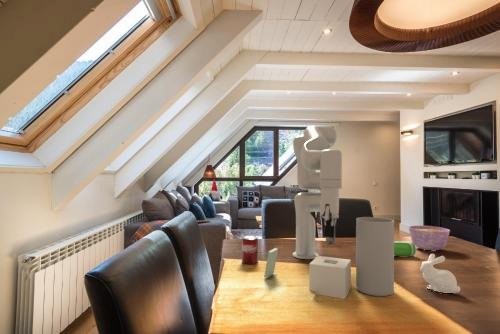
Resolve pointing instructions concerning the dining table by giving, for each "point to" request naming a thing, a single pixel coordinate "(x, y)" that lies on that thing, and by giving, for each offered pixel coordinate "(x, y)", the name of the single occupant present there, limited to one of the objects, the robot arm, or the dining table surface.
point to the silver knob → (332, 240)
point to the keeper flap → (271, 262)
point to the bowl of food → (429, 237)
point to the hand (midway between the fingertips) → (330, 235)
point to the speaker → (404, 248)
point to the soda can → (250, 250)
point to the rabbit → (439, 276)
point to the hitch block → (330, 276)
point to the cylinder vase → (375, 256)
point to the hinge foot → (271, 276)
